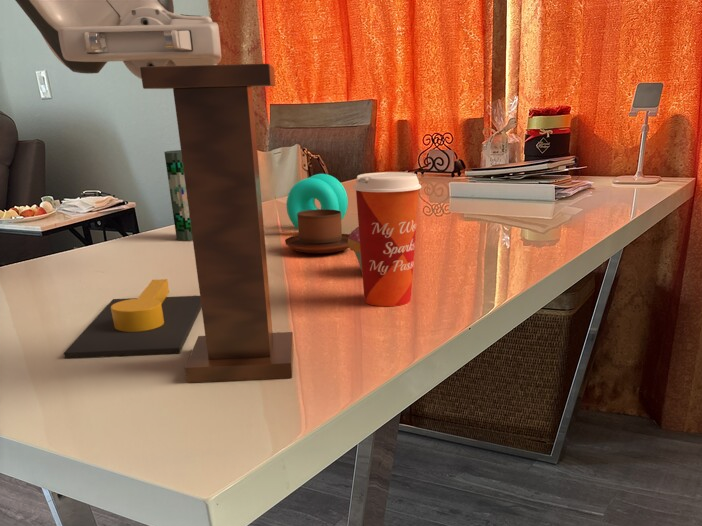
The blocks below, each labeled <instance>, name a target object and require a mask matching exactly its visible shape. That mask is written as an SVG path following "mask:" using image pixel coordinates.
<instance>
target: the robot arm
mask: <svg viewBox="0 0 702 526" xmlns="http://www.w3.org/2000/svg"><path fill="white" fill-rule="evenodd" d="M14 1H15V2H16V4H18V6H19V7H20V8H21V10H22V11H23V12H24V13H25V15H26V16H27V17H28V19H29V20H30V22H32V23H33V25H34V26H35V27H36V29H37V30H38V31H39V33H40V35H41V36H42V38H43V41H44V42H45V43H46V45H47V47H49V49H50V51H51V52H52V54H53V55H54V56H55V57H56V58H57V60H58V61H59V62H60V63H61V64H63V66H65V67H66V68H68V69H69V70H70V71H71V72H73V73H78V74H87V75H88V74H99V73H100V72H101V70H102V69H103V68H104V67H105V66H106V64H108V62H122V63H123V64H124V66H125V67H126V68H127V70H129V72H130V73H131V74H132V75H134V76H135V77H137V78H138V79H139V80H142V78H141V71H140V67H151V66H192V65H219V64H220V63H221V61H222V46H221V45H222V44H221V36H220V28H219V27H220V26H219V24H218V23H217V22H215V21H213V19H212V18H211V16H208V15H207V16H206V15H192V14H191V15H190V14H189V15H188V14H181V13H180V14H177V13H175V10H174V9H175V7H174V6H175V5H174V0H14Z"/></svg>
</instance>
